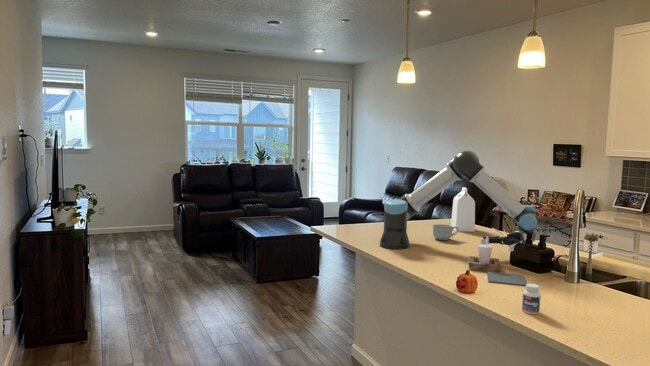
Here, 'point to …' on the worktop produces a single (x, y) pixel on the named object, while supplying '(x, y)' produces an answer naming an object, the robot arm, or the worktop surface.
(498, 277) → the mat
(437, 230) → the teacup
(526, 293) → the pill bottle
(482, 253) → the smoothie
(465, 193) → the milk
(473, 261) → the wooden tray
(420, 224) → the worktop surface
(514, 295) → the worktop surface
